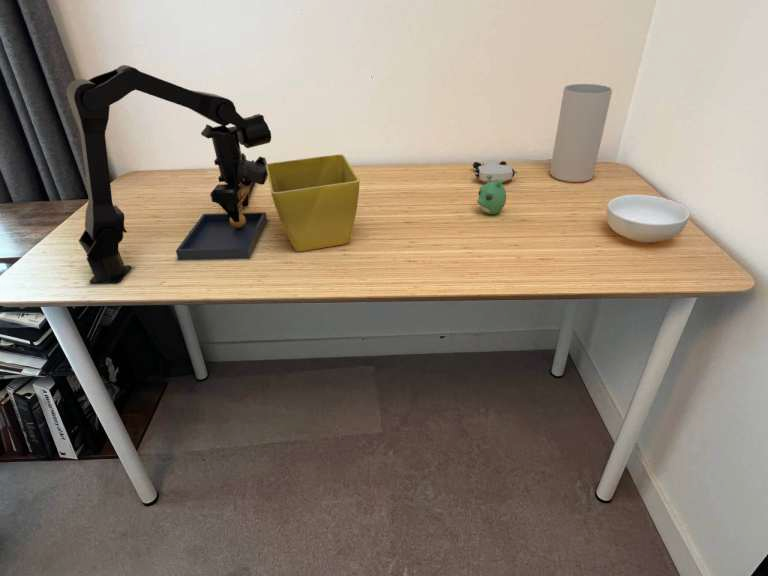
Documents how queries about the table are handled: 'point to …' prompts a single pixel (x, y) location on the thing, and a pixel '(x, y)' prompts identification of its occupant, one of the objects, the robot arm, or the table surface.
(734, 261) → the table surface
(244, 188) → the figurine
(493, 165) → the robot toy
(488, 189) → the alien toy
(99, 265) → the robot arm
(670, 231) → the cereal bowl
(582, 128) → the cylinder vase
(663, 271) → the table surface
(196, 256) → the tray
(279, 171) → the flower pot
